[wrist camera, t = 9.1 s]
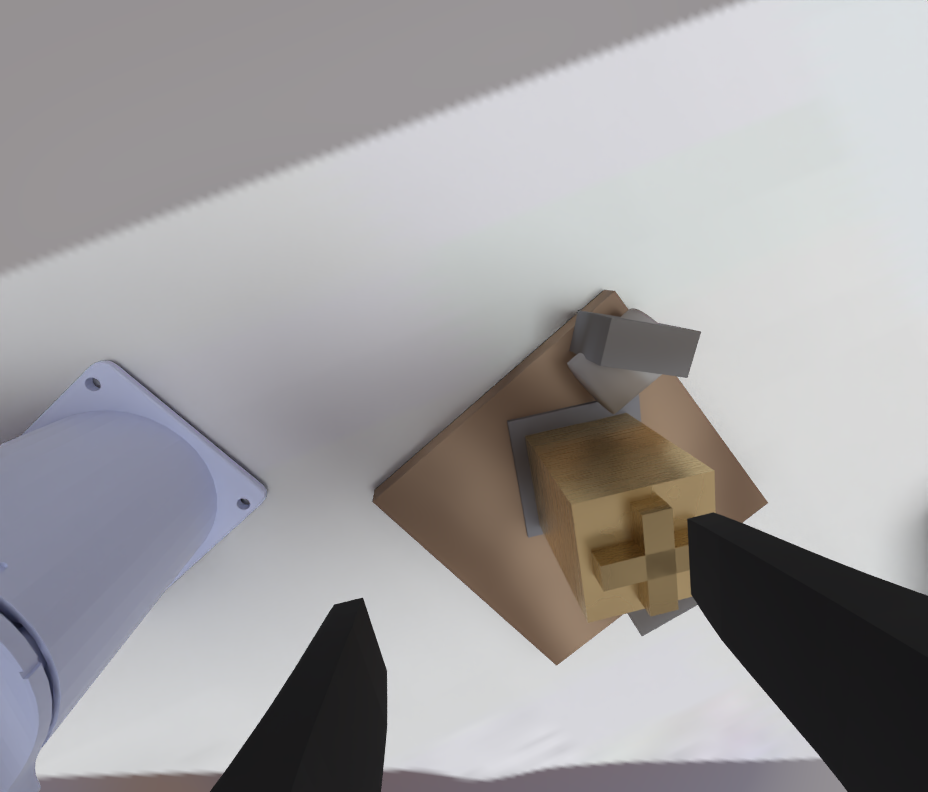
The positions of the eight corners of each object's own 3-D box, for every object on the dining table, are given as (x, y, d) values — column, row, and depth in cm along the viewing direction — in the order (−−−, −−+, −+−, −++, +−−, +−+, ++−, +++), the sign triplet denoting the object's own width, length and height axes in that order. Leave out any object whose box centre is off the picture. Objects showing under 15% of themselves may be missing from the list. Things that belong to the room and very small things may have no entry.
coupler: (634, 503, 19) (732, 606, 13) (539, 526, 19) (596, 641, 13) (626, 412, 18) (730, 481, 12) (524, 436, 18) (580, 517, 12)
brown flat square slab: (550, 649, 23) (578, 725, 19) (368, 484, 19) (356, 538, 15) (760, 486, 21) (836, 532, 17) (608, 274, 17) (662, 274, 14)
